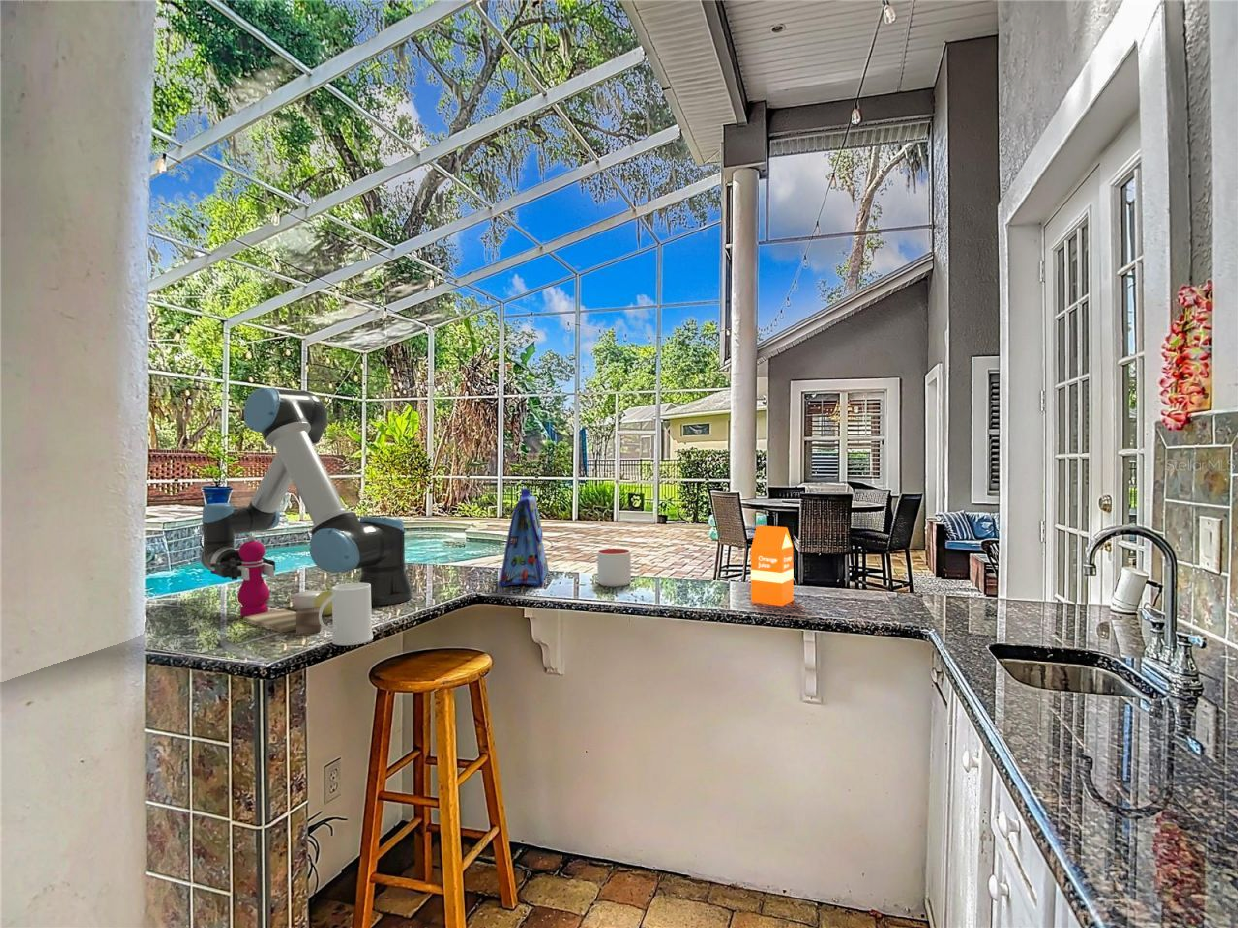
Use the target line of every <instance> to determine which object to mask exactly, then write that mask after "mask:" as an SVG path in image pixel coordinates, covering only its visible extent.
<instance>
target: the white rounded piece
mask: <svg viewBox="0 0 1238 928" xmlns="http://www.w3.org/2000/svg"><path fill="white" fill-rule="evenodd" d="M322 592H325V591H324V590H305V591H300V592H295V593H294V594H292V598H291V599H292V609H293V608H294V609H293V610H296V609H302V608H313V607H314V601H315V599H316V597H317V596H318V595H319V594H320V593H322Z"/></svg>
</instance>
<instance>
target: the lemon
mask: <svg viewBox="0 0 1238 928" xmlns="http://www.w3.org/2000/svg"><path fill="white" fill-rule="evenodd" d="M330 596H332V590H331V591H330V590H327V591H324V592H322V593H320V594H319V595H318V596H317V597H316V599H315V601H314V607H321V606H322V604H323V603H324V601H325V600H326V599H327V598H329V597H330ZM330 615H332V601H330V602H329V603H328V604H327V605H326V606H325V607H324V609H323V612H322V616H330Z"/></svg>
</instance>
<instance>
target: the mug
mask: <svg viewBox="0 0 1238 928" xmlns="http://www.w3.org/2000/svg"><path fill="white" fill-rule="evenodd" d="M331 592H332V596H330V597H329V598H327V599H326V600H325V601H324V603H323V604H322V606H321V608H320V611H319V621H320V624H321V628H323V629H324V630H325V631H327V632H329V633H332V639H331V643H332V644H333V645H335V646H355V645H361V644H366V643H368V642H370V641H372V640H373V638H374V634H373V620H372V606H371V584H369V583H360V582H359V581H357V582H347V583H341V584H336V585H334V586H332V587H331ZM330 601H332V614H331V617H332V627H330V626H327V625H326V624H325V622H324V621H323V615H322V612H323V609H324V607H325V606H326V605H327V604H328V603H329V602H330Z"/></svg>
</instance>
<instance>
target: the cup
mask: <svg viewBox="0 0 1238 928" xmlns="http://www.w3.org/2000/svg"><path fill="white" fill-rule="evenodd" d="M596 556H597V557H596V558H597V560H596V561H597V564H596V565H597V583H598V584H599V585H601V586H603V587H608V588H609V587H610V588H616V587H618V588H619V587H624V586H627V585H629V584H630V583H631V581H632V578H631V577H632V576H631V575H632V574H631V571H632V570H631V566H632V563H631V550H629V549H625V548H604V549H600V550H598V551H596Z"/></svg>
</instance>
